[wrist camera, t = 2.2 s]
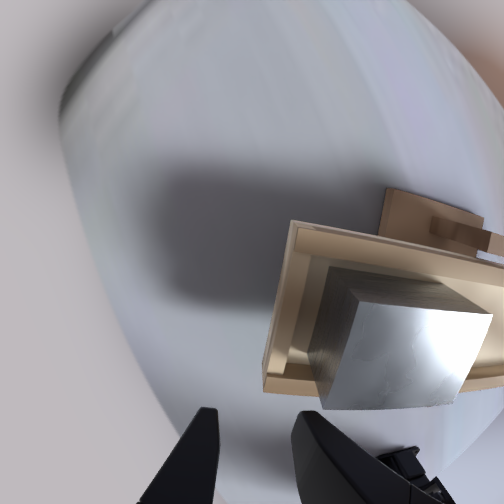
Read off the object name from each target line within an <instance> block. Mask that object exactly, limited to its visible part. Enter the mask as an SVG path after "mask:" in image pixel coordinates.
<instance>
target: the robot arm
mask: <svg viewBox="0 0 504 504" xmlns="http://www.w3.org/2000/svg"><path fill="white" fill-rule="evenodd" d="M291 443H292V450H293V458H294V466H295V474H296V482H297V487H298V492H299V496H300V499H301V503H302V504H456V503H455V502H454V500H453V499H452V497H451V496H450V494H449V493H448V492H447V490H446V489H445V488H444V486H443V485H442V483H441V482H440V480H439V479H438V478H437V476H436V477H435V478H433V480H432V481H429V480H428V478H427V476H426V475H425V473H426V472H425V470H424V469H423V467H422V466H421V464H420V463H419V461H418V460H417V458H416V455H417V454H418V452H419V451H420V449H419V447H416V448H412V449H408V450H404V451H399V452H395V453H391V454H386V455H381V456H379V457H377V458H375V457H374V456H372V455H371V454H370V453H368V452H367V451H366V450H364V449H363V448H362V447H360V446H359V445H358V444H356V443H355V442H354V441H353V440H351V439H350V438H349V437H347V436H346V435H345V434H344V433H342V432H341V431H340V430H339V429H337V428H336V427H335V426H334V425H332V424H331V423H330V422H329V421H328V420H326V419H325V418H324V417H323V416H321V415H320V414H319V413H318V412H316V411H301V412H299V414H298V416H297V419H296V422H295V424H294V427H293V430H292V433H291ZM219 454H220V432H219V420H218V410H217V409H216V408H209V407H201V408H200V409H199V410H198V412H197V413H196V415H195V416H194V418H193V420H192V421H191V423H190V424H189V426H188V427H187V429H186V430H185V432H184V434H183V435H182V437H181V438H180V440H179V441H178V443H177V444H176V446H175V447H174V449H173V450H172V452H171V453H170V455H169V457H168V458H167V460H166V461H165V463H164V464H163V466H162V467H161V469H160V470H159V471H158V473H157V475H156V476H155V478H154V479H153V481H152V482H151V483H150V485H149V486H148V488H147V489H146V491H145V492H144V494H143V495H142V497H141V498H140V502H137V503H136V504H213V497H214V489H215V482H216V475H217V468H218V461H219ZM439 491H440V492H439Z"/></svg>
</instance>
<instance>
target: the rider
mask: <svg viewBox="0 0 504 504" xmlns="http://www.w3.org/2000/svg"><path fill="white" fill-rule="evenodd" d="M492 316H493V315H492V314H490V313H489V312H487V311H486V310H484V309H483V308H481V307H480V306H478V305H476V304H475V303H473V302H472V301H470V300H469V299H467V298H466V297H464V296H462V295H461V294H459V293H458V292H456V291H454V290H453V289H451V288H450V287H448V286H446V285H445V284H441V283H435V282H428V281H422V280H416V279H409V278H403V277H397V276H390V275H384V274H378V273H371V272H365V271H359V270H352V269H346V268H340V267H333V266H329V269H328V273H327V277H326V281H325V286H324V290H323V294H322V298H321V302H320V306H319V310H318V314H317V318H316V322H315V325H314V329H313V333H312V337H311V340H310V344H309V347H308V351H307V356H308V359H309V363H310V366H311V370H312V373H313V376H314V380H315V383H316V387H317V390H318V394H319V397H320V401H321V404H322V408H323V409H325V410H381V409H402V408H416V407H427V406H437V405H446V404H452V403H453V401H454V400H455V398H456V396H457V394H458V392H459V390H460V388H461V387H462V385H463V383H464V381H465V379H466V377H467V375H468V373H469V371H470V368H471V366H472V364H473V362H474V360H475V358H476V355H477V353H478V351H479V349H480V346H481V344H482V341H483V339H484V337H485V334H486V332H487V329H488V326H489V324H490V321H491V318H492Z"/></svg>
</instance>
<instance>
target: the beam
mask: <svg viewBox="0 0 504 504" xmlns="http://www.w3.org/2000/svg"><path fill="white" fill-rule="evenodd" d="M329 266H333V267H340V268H346V269H352V270H359V271H365V272H371V273H378V274H384V275H390V276H397V277H403V278H409V279H416V280H422V281H428V282H435V283H441V284H445V285H446V286H448V287H450V288H451V289H453V290H454V291H456V292H458V293H459V294H461V295H462V296H464V297H466V298H467V299H469V300H470V301H472V302H473V303H475V304H476V305H478V306H480V307H481V308H483V309H484V310H486V311H487V312H489V313H490V314H492V315H493V316H492V318H491V321H490V324H489V326H488V329H487V332H486V334H485V337H484V339H483V341H482V344H481V346H480V349H479V351H478V353H477V355H476V358H475V360H474V362H473V364H472V366H471V368H470V371H469V373H468V375H467V377H466V379H465V381H464V383H463V385H462V387H461V388H460V390H459V392H458V393H462V392H470V391H477V390H484V389H490V388H496V387H502V386H504V264H500V263H496V262H492V261H488V260H484V259H479V258H475V257H471V256H467V255H463V254H458V253H454V252H450V251H445V250H441V249H437V248H432V247H428V246H423V245H419V244H414V243H409V242H405V241H400V240H395V239H390V238H385V237H381V236H376V235H371V234H366V233H361V232H356V231H350V230H345V229H340V228H335V227H329V226H324V225H318V224H313V223H307V222H302V221H296V220H291V221H290V227H289V232H288V237H287V243H286V248H285V253H284V259H283V264H282V269H281V274H280V279H279V284H278V289H277V294H276V299H275V304H274V309H273V314H272V319H271V323H270V328H269V333H268V338H267V342H266V347H265V352H264V356H263V361H262V376H263V392H266V393H276V394H287V395H299V396H315V397H319V394H318V390H317V387H316V383H315V380H314V376H313V373H312V370H311V366H310V363H309V359H308V356H307V351H308V347H309V344H310V340H311V337H312V333H313V329H314V325H315V322H316V318H317V314H318V310H319V306H320V302H321V298H322V294H323V290H324V286H325V281H326V277H327V273H328V269H329Z"/></svg>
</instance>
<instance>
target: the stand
mask: <svg viewBox="0 0 504 504" xmlns="http://www.w3.org/2000/svg"><path fill="white" fill-rule="evenodd" d="M483 222H484V218H483V217H481V216H478V215H475V214H472V213H469V212H467V211H464V210H461V209H458V208H455V207H452V206H449V205H446V204H443V203H440V202H437V201H434V200H431V199H427V198H424V197H421V196H418V195H414V194H411V193H407V192H404V191H401V190H397V189H393V188H387V189H386V194H385V200H384V205H383V211H382V216H381V221H380V226H379V230H378V235H377V236H381V237H385V238H390V239H395V240H400V241H405V242H409V243H414V244H419V245H423V246H428V247H432V248H437V249H441V250H445V251H450V252H454V253H458V254H463V255H467V256H471V257H475V258H476V254H477V250H478V249H479V250H481V251H484V252H487V253H491V254H494V255H498V256H502V257H504V236H502V235H499V234H496V233H493V232H490V231H486V230H483V229H482V227H483ZM427 407H431V406H427Z"/></svg>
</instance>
